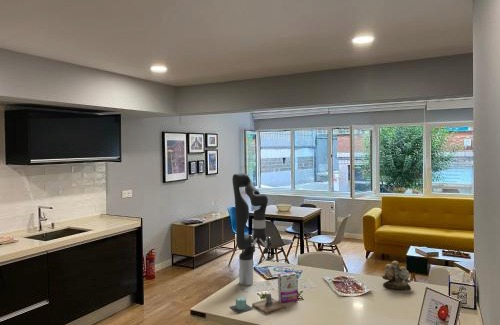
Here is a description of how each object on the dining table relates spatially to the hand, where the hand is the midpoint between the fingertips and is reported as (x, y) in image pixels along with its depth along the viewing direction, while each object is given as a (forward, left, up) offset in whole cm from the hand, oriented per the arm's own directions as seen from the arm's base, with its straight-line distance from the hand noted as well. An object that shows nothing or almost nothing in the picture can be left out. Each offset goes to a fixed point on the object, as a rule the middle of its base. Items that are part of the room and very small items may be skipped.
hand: (260, 252), depth 230 cm
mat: (+6, -18, -28) cm, 34 cm away
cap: (+6, -18, -28) cm, 33 cm away
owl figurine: (+37, +82, -28) cm, 94 cm away
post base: (+14, -4, -28) cm, 32 cm away
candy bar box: (+13, +11, -28) cm, 33 cm away
